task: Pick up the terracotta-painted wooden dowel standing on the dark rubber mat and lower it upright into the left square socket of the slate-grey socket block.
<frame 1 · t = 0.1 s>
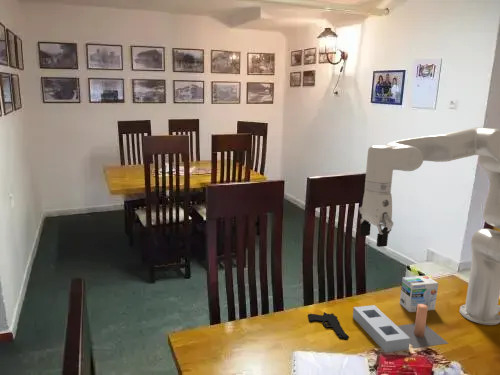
hand: (372, 240, 121), 31 cm above the table, fingers open, 9 cm apart
light bulb box: (416, 307, 143), on the table
mat: (419, 335, 126), on the table
socket block: (378, 332, 127), on the table
dowel: (419, 334, 126), resting on mat
handgun: (326, 328, 130), on the table
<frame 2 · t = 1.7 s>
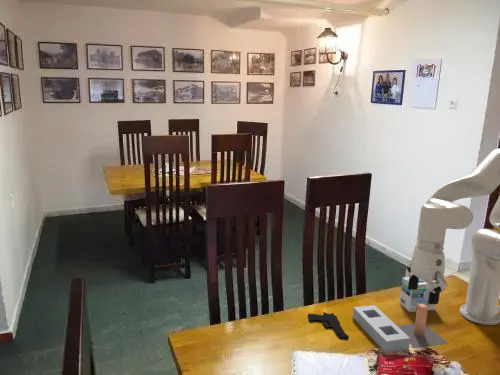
hand: (422, 296, 122), 14 cm above the table, fingers open, 9 cm apart
nothing on the table moved.
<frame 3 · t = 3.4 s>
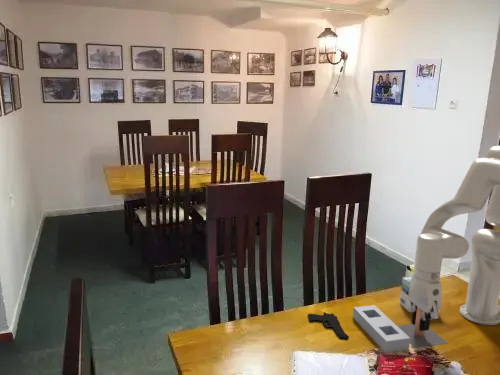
hand: (420, 326, 125), 3 cm above the table, fingers closed on dowel, 3 cm apart
dowel: (419, 334, 126), resting on mat, touching gripper
everything else where it was.
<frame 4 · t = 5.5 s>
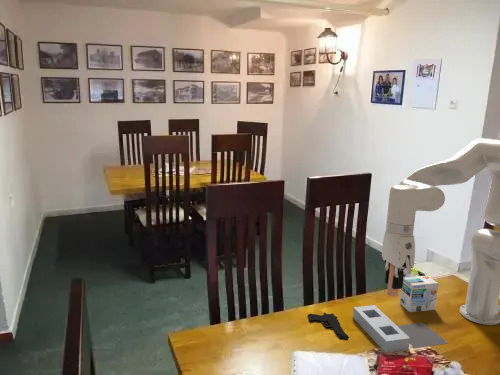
hand: (393, 285, 118), 19 cm above the table, fingers closed on dowel, 3 cm apart
dowel: (392, 293, 118), point 16 cm above the table, touching gripper
everything else where it was.
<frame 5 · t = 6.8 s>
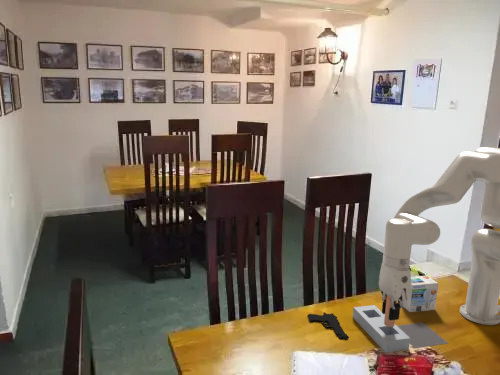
hand: (390, 315, 120), 9 cm above the table, fingers closed on dowel, 3 cm apart
dowel: (389, 324, 121), point 6 cm above the table, touching gripper
everything else where it was.
when the fingers open (5 cm above the table, at t = 7.8 s): dowel drops 2 cm, resting in socket block.
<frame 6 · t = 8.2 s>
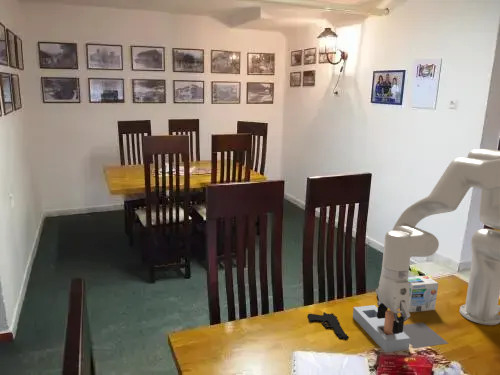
hand: (389, 324, 121), 6 cm above the table, fingers open, 7 cm apart
dowel: (387, 341, 122), resting in socket block
everything else where it was.
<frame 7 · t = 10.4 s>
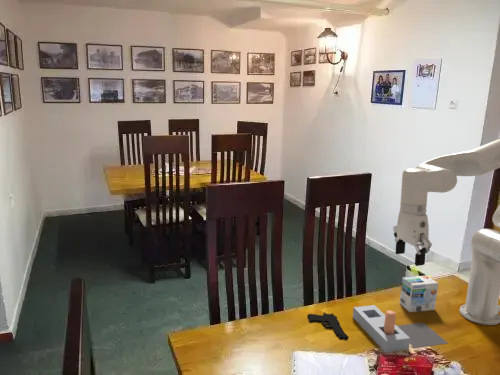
hand: (409, 259, 126), 24 cm above the table, fingers open, 9 cm apart
nothing on the table moved.
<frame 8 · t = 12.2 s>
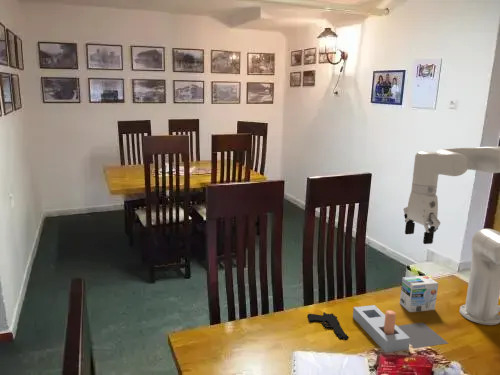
hand: (418, 238, 132), 28 cm above the table, fingers open, 9 cm apart
nothing on the table moved.
at the end: dowel 0.1 cm from the target spot on the socket block, point 0.0 cm above the socket block's base; dowel tilted 0°; the gripper is holding nothing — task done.
